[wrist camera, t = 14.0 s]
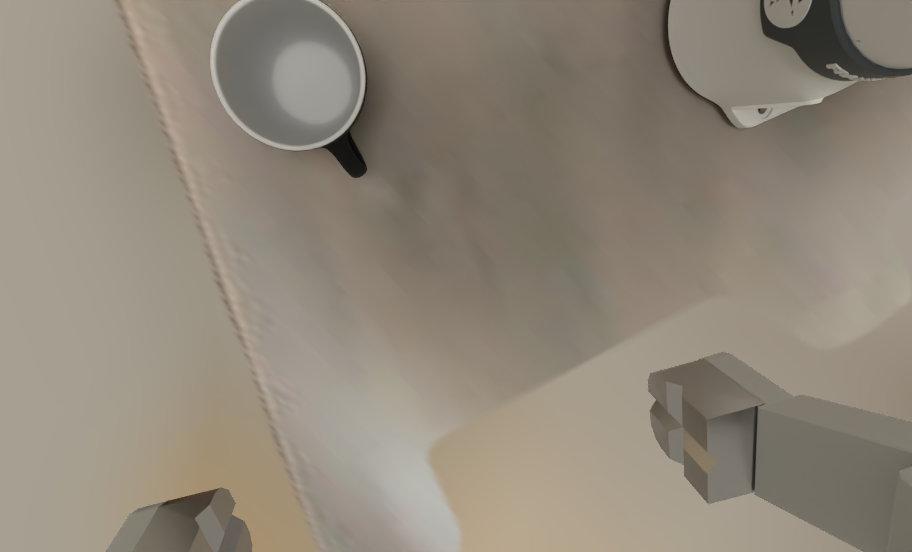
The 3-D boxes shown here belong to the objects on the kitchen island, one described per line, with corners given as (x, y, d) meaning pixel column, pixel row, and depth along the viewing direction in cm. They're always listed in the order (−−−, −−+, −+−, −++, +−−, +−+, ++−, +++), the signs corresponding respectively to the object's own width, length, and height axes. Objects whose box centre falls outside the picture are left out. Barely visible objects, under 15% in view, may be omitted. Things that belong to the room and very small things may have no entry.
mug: (228, 58, 36) (173, 38, 26) (329, -3, 35) (310, -45, 26) (319, 194, 40) (300, 219, 30) (409, 141, 40) (418, 150, 30)
